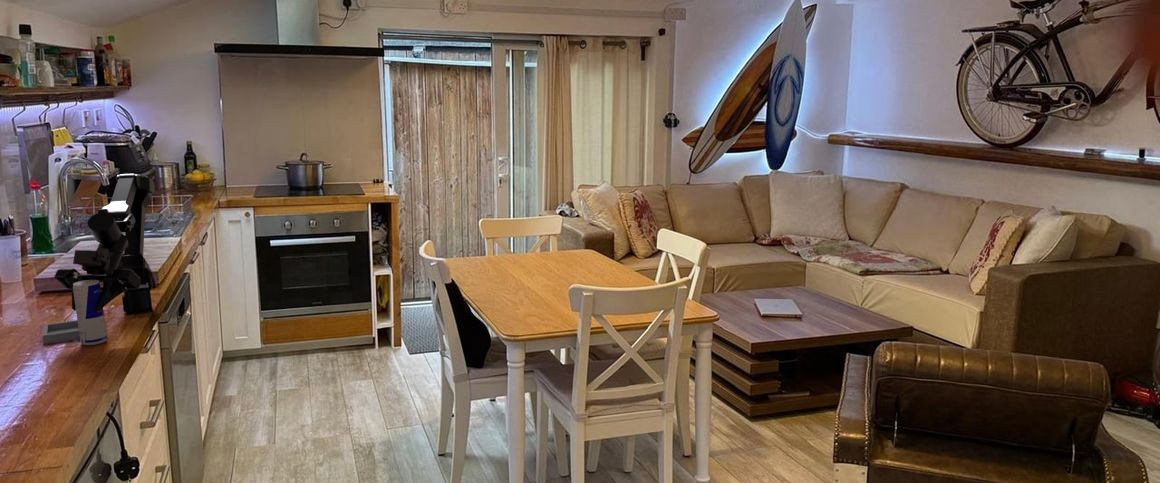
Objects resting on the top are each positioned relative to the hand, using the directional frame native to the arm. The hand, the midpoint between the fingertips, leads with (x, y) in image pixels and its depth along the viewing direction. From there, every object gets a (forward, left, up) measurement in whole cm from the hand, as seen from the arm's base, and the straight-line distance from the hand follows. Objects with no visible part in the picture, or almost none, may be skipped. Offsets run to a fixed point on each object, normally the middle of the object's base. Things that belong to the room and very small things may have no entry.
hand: (85, 309), depth 199 cm
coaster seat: (+4, -12, -9) cm, 15 cm away
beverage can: (-1, -1, -9) cm, 9 cm away
